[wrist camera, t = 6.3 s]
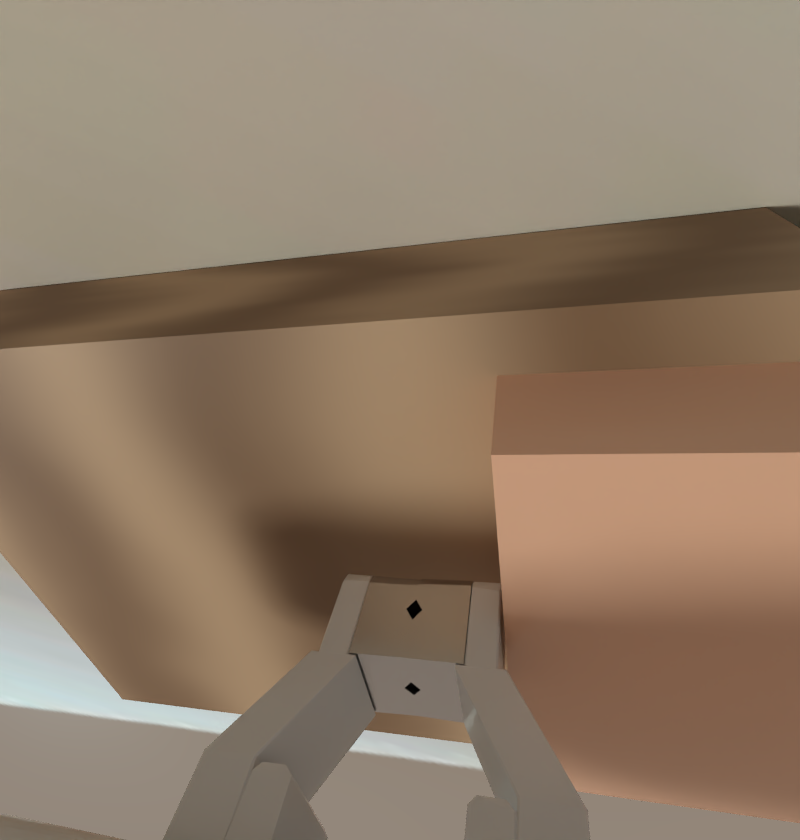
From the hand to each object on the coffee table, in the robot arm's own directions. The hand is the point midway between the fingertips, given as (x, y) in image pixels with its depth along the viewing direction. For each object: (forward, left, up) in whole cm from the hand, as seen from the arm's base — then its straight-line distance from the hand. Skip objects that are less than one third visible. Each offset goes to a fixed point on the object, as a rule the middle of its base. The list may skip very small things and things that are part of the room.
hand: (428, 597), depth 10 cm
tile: (-4, 0, -1) cm, 5 cm away
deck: (+3, +1, -5) cm, 6 cm away
